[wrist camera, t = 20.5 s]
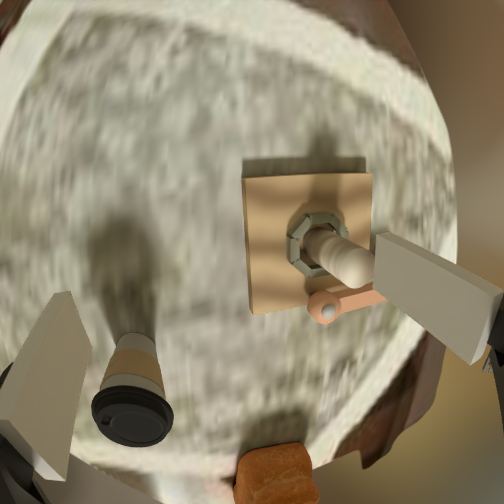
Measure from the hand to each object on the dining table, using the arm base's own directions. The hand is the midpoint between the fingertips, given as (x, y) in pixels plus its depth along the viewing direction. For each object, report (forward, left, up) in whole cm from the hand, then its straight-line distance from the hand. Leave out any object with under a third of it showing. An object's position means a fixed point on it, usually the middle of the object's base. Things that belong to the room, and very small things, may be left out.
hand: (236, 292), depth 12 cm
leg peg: (+7, +16, -24) cm, 29 cm away
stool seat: (+7, +15, -26) cm, 31 cm away
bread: (+64, +7, -26) cm, 69 cm away
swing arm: (+15, +21, -22) cm, 34 cm away
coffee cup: (+20, -11, -26) cm, 35 cm away
